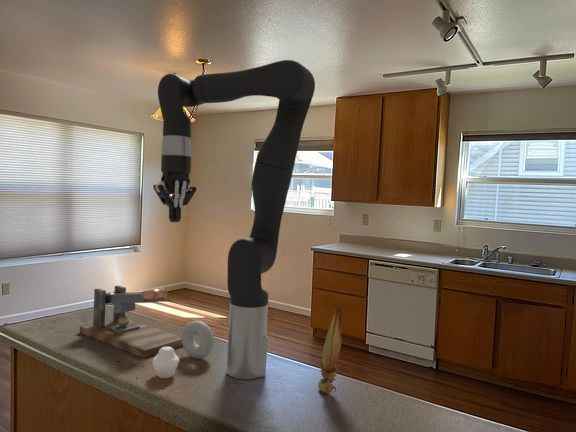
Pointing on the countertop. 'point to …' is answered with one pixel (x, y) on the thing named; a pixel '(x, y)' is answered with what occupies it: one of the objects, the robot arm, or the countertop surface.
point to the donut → (204, 335)
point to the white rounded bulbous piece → (165, 362)
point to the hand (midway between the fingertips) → (174, 221)
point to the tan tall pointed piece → (331, 353)
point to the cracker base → (126, 330)
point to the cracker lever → (134, 299)
